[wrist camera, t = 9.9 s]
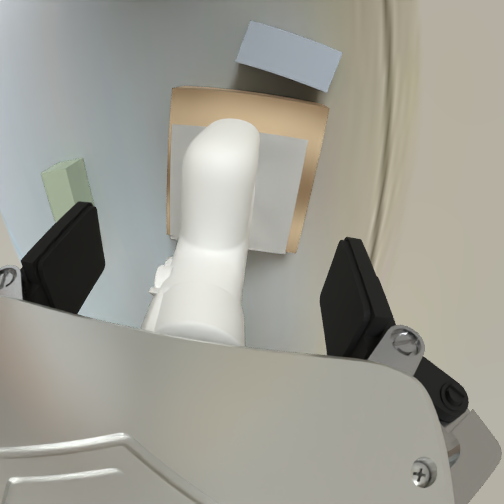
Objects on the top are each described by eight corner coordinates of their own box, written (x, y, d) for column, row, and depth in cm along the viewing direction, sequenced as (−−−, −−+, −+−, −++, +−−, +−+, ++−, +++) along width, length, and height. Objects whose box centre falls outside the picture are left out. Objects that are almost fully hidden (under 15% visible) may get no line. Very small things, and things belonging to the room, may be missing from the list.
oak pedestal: (184, 85, 19) (172, 88, 17) (321, 103, 20) (329, 108, 17) (177, 216, 26) (166, 234, 23) (293, 233, 26) (296, 253, 23)
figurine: (304, 111, 17) (389, 223, 5) (280, 238, 23) (284, 440, 10) (190, 98, 17) (22, 181, 5) (184, 226, 23) (105, 409, 10)
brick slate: (239, 63, 19) (235, 61, 16) (253, 27, 17) (250, 20, 14) (319, 90, 19) (326, 92, 17) (333, 55, 18) (342, 52, 15)
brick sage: (59, 161, 23) (41, 173, 21) (84, 157, 23) (65, 168, 20) (75, 218, 26) (59, 234, 24) (98, 217, 26) (83, 232, 24)
